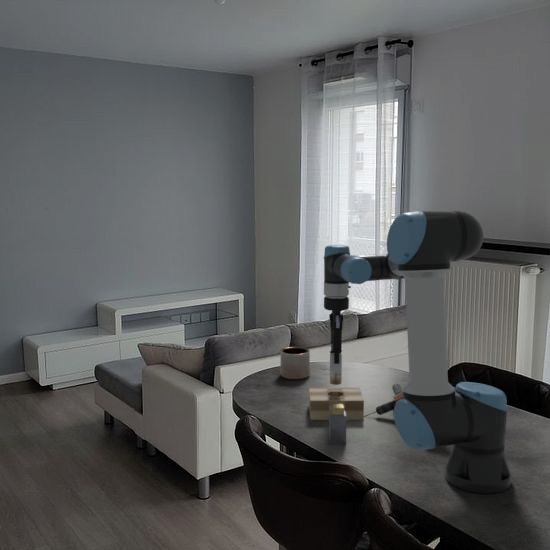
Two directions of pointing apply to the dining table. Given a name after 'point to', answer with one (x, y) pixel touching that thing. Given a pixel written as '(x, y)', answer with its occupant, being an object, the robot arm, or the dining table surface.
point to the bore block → (335, 402)
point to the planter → (295, 363)
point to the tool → (391, 405)
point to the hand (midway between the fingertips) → (335, 370)
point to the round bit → (335, 378)
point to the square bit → (337, 424)
